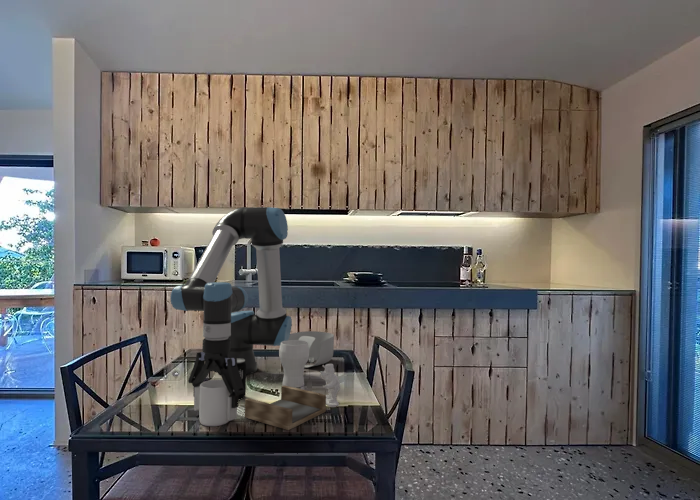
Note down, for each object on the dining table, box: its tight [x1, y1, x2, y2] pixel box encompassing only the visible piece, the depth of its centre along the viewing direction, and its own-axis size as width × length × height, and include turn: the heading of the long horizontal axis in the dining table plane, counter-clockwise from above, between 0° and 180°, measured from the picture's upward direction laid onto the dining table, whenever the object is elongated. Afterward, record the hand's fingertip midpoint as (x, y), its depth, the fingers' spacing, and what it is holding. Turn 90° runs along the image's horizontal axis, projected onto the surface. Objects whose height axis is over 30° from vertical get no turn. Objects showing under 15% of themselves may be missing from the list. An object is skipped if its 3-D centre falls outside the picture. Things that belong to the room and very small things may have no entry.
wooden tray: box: [244, 385, 327, 431], centre depth 128 cm, size 16×17×5 cm
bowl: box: [288, 330, 335, 368], centre depth 191 cm, size 20×19×12 cm
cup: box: [278, 340, 309, 388], centre depth 158 cm, size 11×11×15 cm
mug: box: [198, 379, 230, 427], centre depth 124 cm, size 12×8×10 cm
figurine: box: [319, 363, 341, 408], centre depth 140 cm, size 9×7×12 cm
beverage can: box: [233, 358, 247, 400], centre depth 142 cm, size 7×7×12 cm
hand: (214, 414), depth 124 cm, fingers open, 13 cm apart
